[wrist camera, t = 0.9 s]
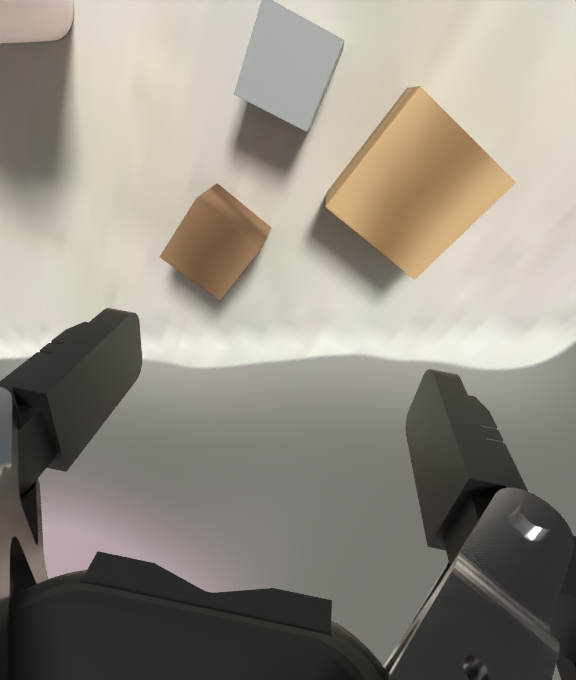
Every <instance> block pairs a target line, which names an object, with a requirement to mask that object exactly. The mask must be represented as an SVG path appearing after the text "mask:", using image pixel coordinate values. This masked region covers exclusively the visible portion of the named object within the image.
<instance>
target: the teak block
mask: <svg viewBox="0 0 576 680" xmlns="http://www.w3.org/2000/svg"><path fill="white" fill-rule="evenodd" d="M515 183H516V182H515V181H514V180H513V179H512V178H511V177H510V176H509V175H508V174H507V173H506V172H505V171H504V170H503V169H502V168H501V167H500V166H499V165H498V164H497V163H496V162H495V161H494V160H493V159H492V158H491V157H490V156H489V155H488V154H487V153H486V152H485V151H484V150H483V149H482V148H481V147H480V146H479V145H478V144H477V143H476V142H475V141H474V140H473V139H472V138H471V137H470V136H469V135H468V134H467V133H466V132H465V131H464V130H463V129H462V128H461V127H460V126H459V125H458V124H457V123H456V122H455V121H454V120H453V119H452V118H451V117H450V116H449V115H448V114H447V113H446V112H445V111H444V110H443V109H442V108H441V107H440V106H439V105H438V104H437V103H436V102H435V101H434V100H433V99H432V98H431V97H430V96H429V95H428V94H427V93H426V92H425V91H424V90H423V89H422V88H421V87H420V86H418V87H411V88H407V89H406V90H405V92H404V93H403V94H402V95H401V97H400V98H399V99H398V101H397V102H396V103H395V104H394V106H393V107H392V108H391V110H390V111H389V112H388V114H387V115H386V116H385V117H384V119H383V120H382V121H381V123H380V124H379V125H378V127H377V128H376V129H375V130H374V132H373V133H372V134H371V136H370V137H369V138H368V139H367V141H366V142H365V143H364V145H363V146H362V147H361V149H360V150H359V151H358V152H357V154H356V155H355V156H354V158H353V159H352V160H351V162H350V163H349V164H348V165H347V167H346V168H345V169H344V171H343V172H342V173H341V174H340V176H339V177H338V178H337V180H336V181H335V182H334V184H333V185H332V186H331V187H330V189H329V190H328V191H327V193H326V204H325V207H326V208H327V209H329V210H330V211H331V212H332V213H334V214H335V215H336V216H337V217H338V218H340V219H341V220H342V221H343V222H345V223H346V224H347V225H348V226H349V227H351V228H352V229H353V230H354V231H356V232H357V233H358V234H359V235H360V236H362V237H363V238H364V239H365V240H367V241H368V242H369V243H370V244H371V245H373V246H374V247H375V248H376V249H378V250H379V251H380V252H381V253H382V254H384V255H385V256H386V257H387V258H388V259H390V260H391V261H392V262H393V263H395V264H396V265H397V266H398V267H399V268H401V269H402V270H403V271H404V272H406V273H407V274H408V275H409V276H410V277H412V278H413V279H414V280H415V279H416V278H417V277H418V276H419V275H420V274H421V273H422V272H423V271H424V270H425V269H426V268H427V267H428V266H429V265H430V264H431V263H432V262H433V261H435V260H436V259H437V258H438V257H439V256H440V255H441V254H442V253H443V252H444V251H445V250H446V249H447V248H448V247H449V246H450V245H451V244H452V243H453V242H454V241H455V240H456V239H457V238H459V237H460V236H461V235H462V234H463V233H464V232H465V231H466V230H467V229H468V228H469V227H470V226H471V225H472V224H473V223H474V222H475V221H476V220H477V219H478V218H479V217H480V216H482V215H483V214H484V213H485V212H486V211H487V210H488V209H489V208H490V207H491V206H492V205H493V204H494V203H495V202H496V201H497V200H498V199H499V198H500V197H501V196H502V195H503V194H504V193H506V192H507V191H508V190H509V189H510V188H511V187H512V186H513V185H514V184H515Z"/></svg>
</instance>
